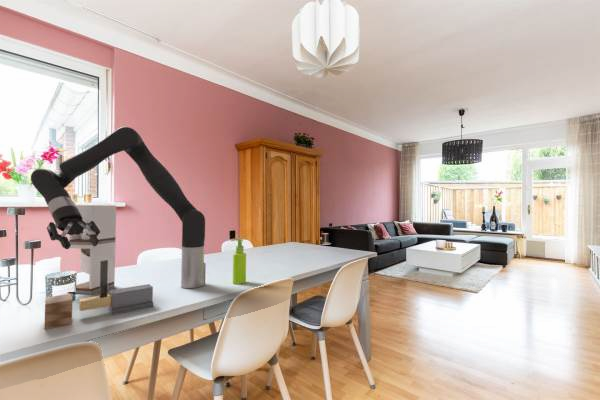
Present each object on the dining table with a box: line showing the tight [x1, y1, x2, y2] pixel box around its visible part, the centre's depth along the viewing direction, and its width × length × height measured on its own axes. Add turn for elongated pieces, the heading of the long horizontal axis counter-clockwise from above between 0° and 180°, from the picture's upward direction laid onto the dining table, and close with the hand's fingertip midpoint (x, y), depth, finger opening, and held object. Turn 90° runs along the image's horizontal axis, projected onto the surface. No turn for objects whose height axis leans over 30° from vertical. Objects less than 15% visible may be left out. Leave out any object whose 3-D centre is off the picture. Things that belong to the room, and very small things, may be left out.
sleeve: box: [108, 283, 154, 316], centre depth 97 cm, size 12×7×6 cm, turn 131°
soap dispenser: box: [230, 238, 247, 285], centre depth 131 cm, size 6×7×20 cm
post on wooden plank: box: [79, 260, 112, 312], centre depth 94 cm, size 18×3×14 cm, turn 131°
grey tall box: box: [68, 204, 117, 295], centre depth 119 cm, size 11×11×35 cm
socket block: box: [43, 293, 73, 330], centre depth 85 cm, size 6×8×7 cm
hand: (82, 246), depth 97 cm, fingers open, 8 cm apart
